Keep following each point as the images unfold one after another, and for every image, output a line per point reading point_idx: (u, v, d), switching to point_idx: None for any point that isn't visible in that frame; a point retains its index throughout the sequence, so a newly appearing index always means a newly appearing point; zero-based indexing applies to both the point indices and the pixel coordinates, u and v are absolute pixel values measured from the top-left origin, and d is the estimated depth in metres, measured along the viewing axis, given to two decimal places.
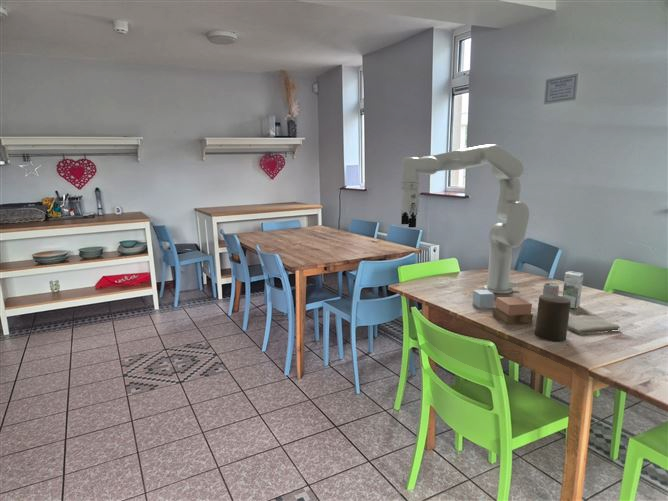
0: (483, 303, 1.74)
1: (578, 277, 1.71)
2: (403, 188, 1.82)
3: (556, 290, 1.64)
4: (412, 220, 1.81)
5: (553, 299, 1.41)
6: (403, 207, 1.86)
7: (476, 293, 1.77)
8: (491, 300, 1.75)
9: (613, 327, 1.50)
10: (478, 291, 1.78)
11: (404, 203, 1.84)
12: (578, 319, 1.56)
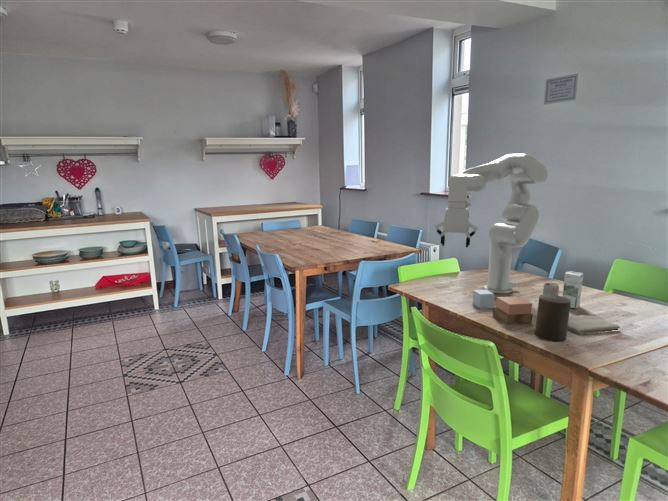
0: (483, 303, 1.74)
1: (578, 277, 1.71)
2: (460, 208, 1.72)
3: (556, 290, 1.64)
4: (469, 239, 1.76)
5: (553, 299, 1.42)
6: (453, 228, 1.76)
7: (476, 293, 1.77)
8: (491, 300, 1.75)
9: (613, 327, 1.50)
10: (478, 291, 1.78)
11: (457, 223, 1.75)
12: (578, 319, 1.56)
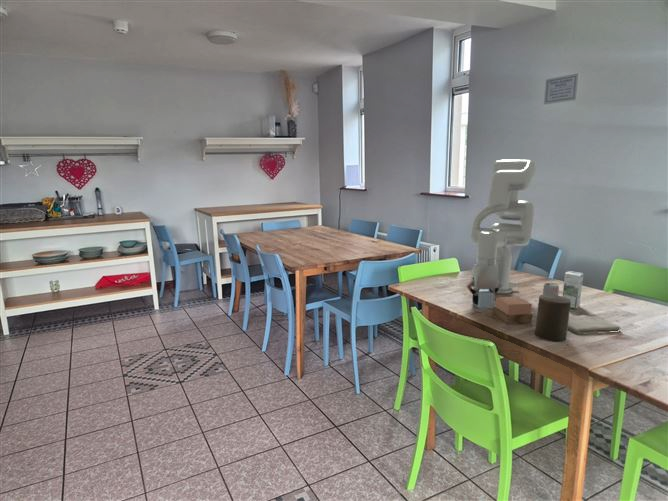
0: (483, 303, 1.74)
1: (578, 277, 1.71)
2: (493, 265, 1.71)
3: (556, 290, 1.64)
4: None
5: (553, 299, 1.41)
6: (485, 284, 1.74)
7: None
8: (491, 300, 1.75)
9: (613, 328, 1.50)
10: None
11: (489, 280, 1.73)
12: (578, 319, 1.56)
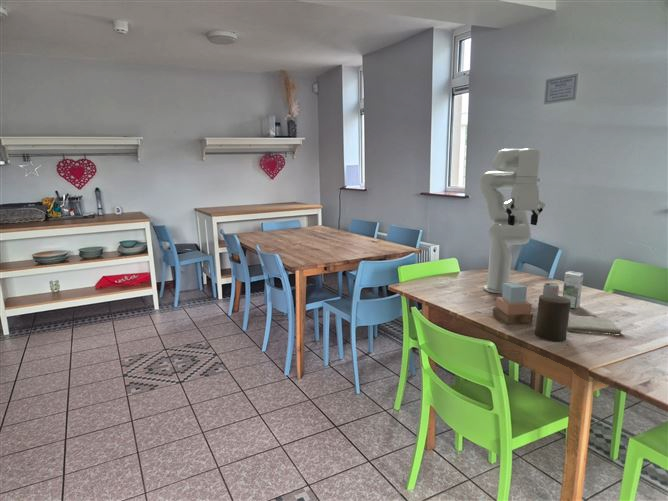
0: (514, 298, 1.57)
1: (578, 277, 1.71)
2: (535, 183, 1.63)
3: (556, 290, 1.64)
4: None
5: (553, 299, 1.41)
6: (525, 205, 1.65)
7: (506, 286, 1.59)
8: (523, 294, 1.57)
9: (612, 330, 1.47)
10: (508, 283, 1.61)
11: (529, 200, 1.65)
12: (581, 319, 1.56)
